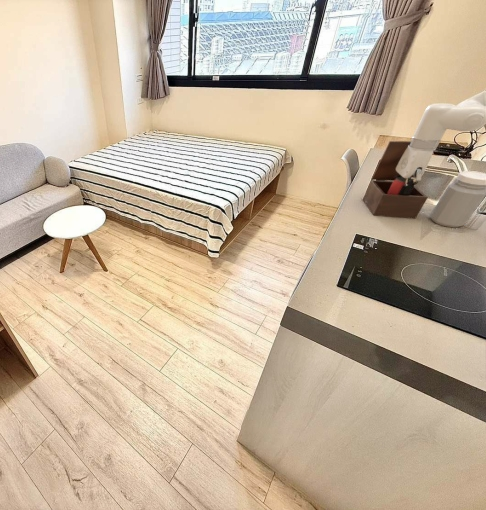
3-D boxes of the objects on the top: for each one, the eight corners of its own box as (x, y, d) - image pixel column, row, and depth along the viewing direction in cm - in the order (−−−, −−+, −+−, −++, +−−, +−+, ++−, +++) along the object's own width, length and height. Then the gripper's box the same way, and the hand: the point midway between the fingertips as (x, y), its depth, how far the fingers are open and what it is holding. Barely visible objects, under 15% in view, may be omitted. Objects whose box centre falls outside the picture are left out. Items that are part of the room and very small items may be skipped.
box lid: (435, 142, 101) (429, 137, 105) (390, 141, 105) (385, 136, 108) (411, 181, 111) (406, 175, 115) (371, 179, 115) (368, 173, 119)
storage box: (415, 218, 106) (428, 197, 101) (373, 215, 110) (383, 194, 104) (400, 202, 117) (410, 182, 112) (362, 199, 121) (370, 180, 116)
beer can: (385, 211, 109) (399, 182, 102) (378, 203, 114) (391, 175, 107) (404, 212, 108) (420, 182, 101) (396, 204, 113) (411, 176, 106)
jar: (425, 222, 104) (454, 175, 93) (432, 213, 108) (459, 167, 98) (461, 231, 97) (496, 182, 87) (466, 221, 102) (500, 174, 92)
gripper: (400, 137, 104) (380, 182, 115) (421, 150, 91) (396, 200, 101) (425, 137, 102) (402, 183, 112) (450, 151, 89) (421, 202, 99)
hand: (399, 191), depth 107 cm, fingers closed on beer can, 6 cm apart
